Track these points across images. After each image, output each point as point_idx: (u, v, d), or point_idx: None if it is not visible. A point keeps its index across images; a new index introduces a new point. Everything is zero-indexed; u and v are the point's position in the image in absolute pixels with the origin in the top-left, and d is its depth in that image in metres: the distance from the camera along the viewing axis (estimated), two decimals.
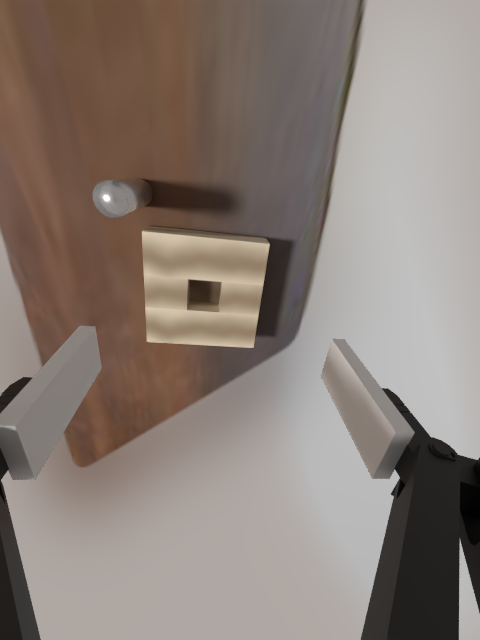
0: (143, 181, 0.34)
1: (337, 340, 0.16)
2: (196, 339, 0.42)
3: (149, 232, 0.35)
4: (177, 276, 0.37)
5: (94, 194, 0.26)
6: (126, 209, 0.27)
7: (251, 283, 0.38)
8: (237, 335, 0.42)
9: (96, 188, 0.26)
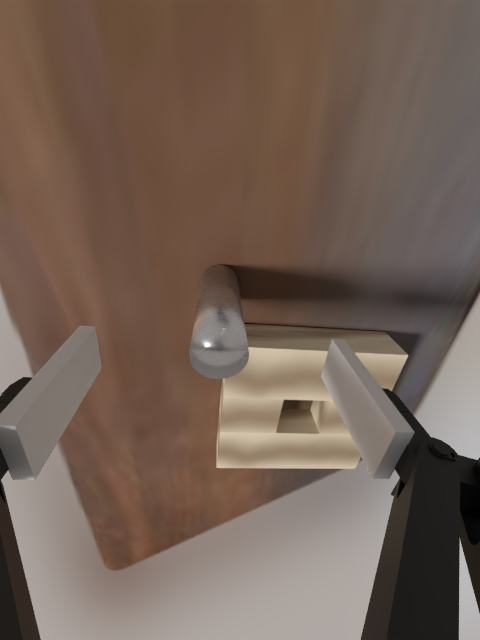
0: (230, 272, 0.23)
1: (337, 340, 0.16)
2: (282, 462, 0.31)
3: None
4: (270, 397, 0.26)
5: (192, 349, 0.15)
6: (242, 367, 0.16)
7: None
8: (338, 456, 0.31)
9: (197, 341, 0.15)
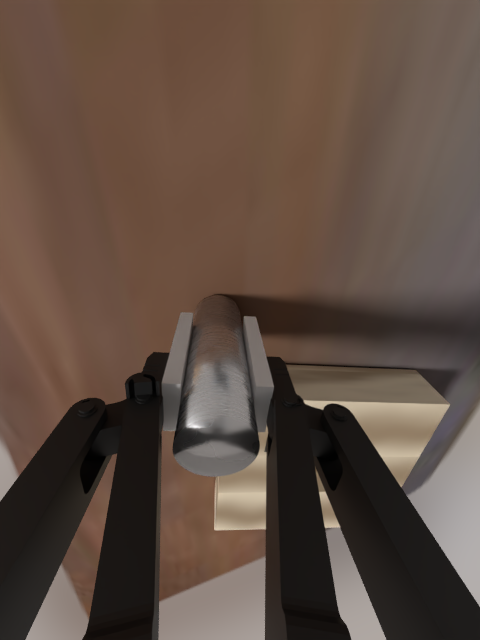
0: (231, 306, 0.18)
1: (248, 317, 0.17)
2: None
3: None
4: None
5: (177, 443, 0.10)
6: (250, 461, 0.11)
7: (400, 455, 0.23)
8: None
9: (184, 433, 0.10)
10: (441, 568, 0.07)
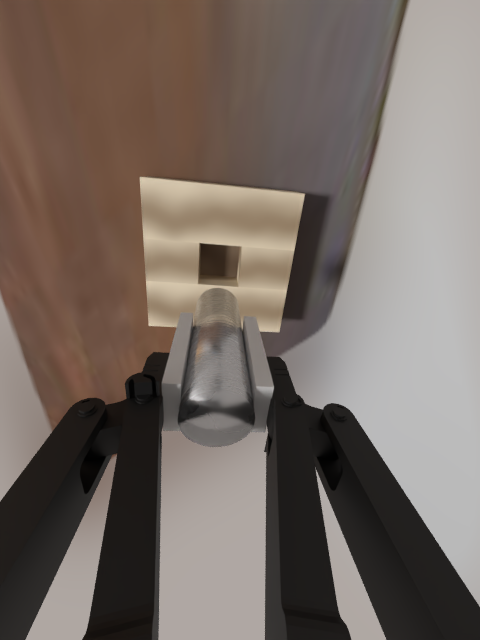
0: (230, 297, 0.20)
1: (248, 317, 0.17)
2: None
3: (149, 178, 0.27)
4: (186, 239, 0.29)
5: (181, 414, 0.11)
6: (247, 432, 0.12)
7: (279, 248, 0.30)
8: (260, 316, 0.34)
9: (187, 404, 0.11)
10: (441, 568, 0.07)
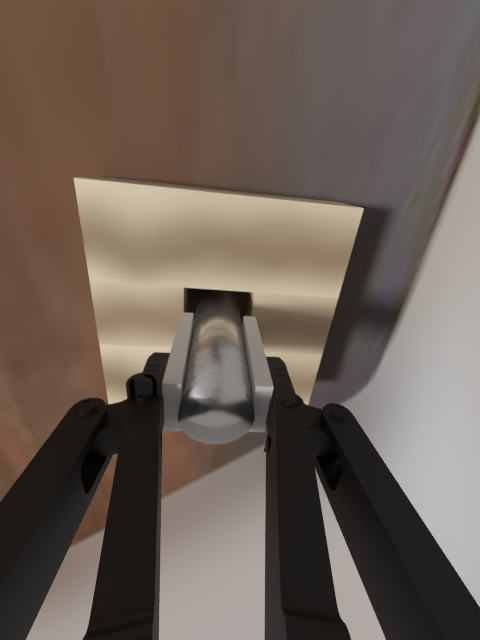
0: (230, 297, 0.20)
1: (248, 317, 0.17)
2: None
3: (92, 181, 0.15)
4: (161, 282, 0.18)
5: (182, 412, 0.11)
6: (246, 429, 0.12)
7: (315, 294, 0.19)
8: None
9: (188, 402, 0.11)
10: (440, 568, 0.07)
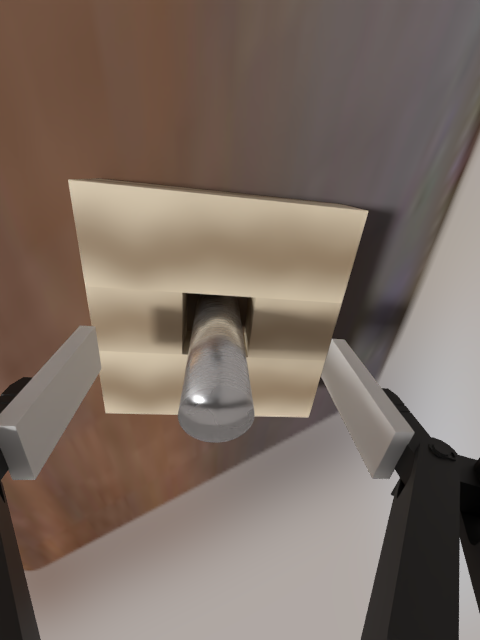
0: (230, 296, 0.20)
1: (337, 340, 0.16)
2: None
3: (87, 183, 0.14)
4: (159, 287, 0.17)
5: (182, 410, 0.12)
6: (246, 428, 0.12)
7: (317, 299, 0.18)
8: (281, 397, 0.22)
9: (188, 400, 0.11)
10: None
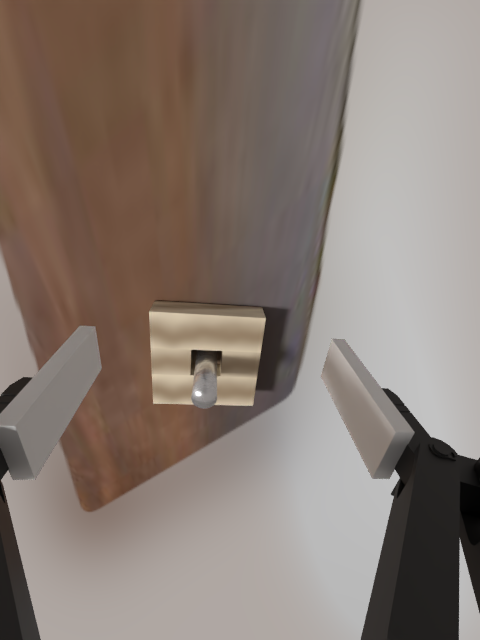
0: None
1: (337, 340, 0.16)
2: None
3: (156, 312, 0.38)
4: (181, 347, 0.41)
5: (192, 396, 0.35)
6: (214, 403, 0.36)
7: (249, 351, 0.42)
8: (237, 395, 0.45)
9: (194, 393, 0.35)
10: None
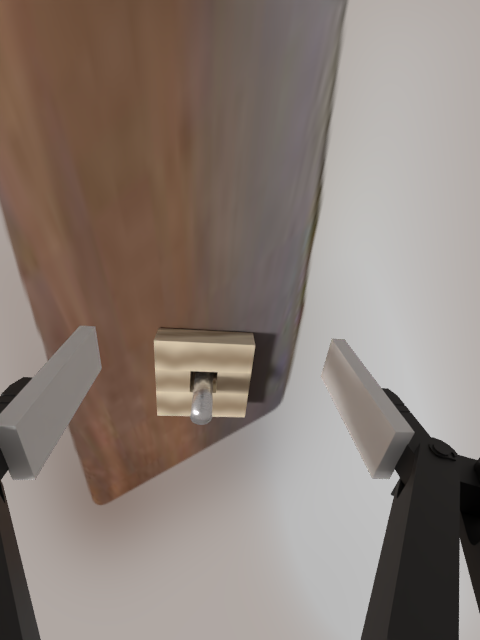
0: None
1: (337, 340, 0.16)
2: None
3: (159, 341, 0.44)
4: (182, 369, 0.47)
5: (191, 415, 0.41)
6: (210, 420, 0.42)
7: (241, 372, 0.48)
8: (231, 408, 0.51)
9: (193, 412, 0.41)
10: None
